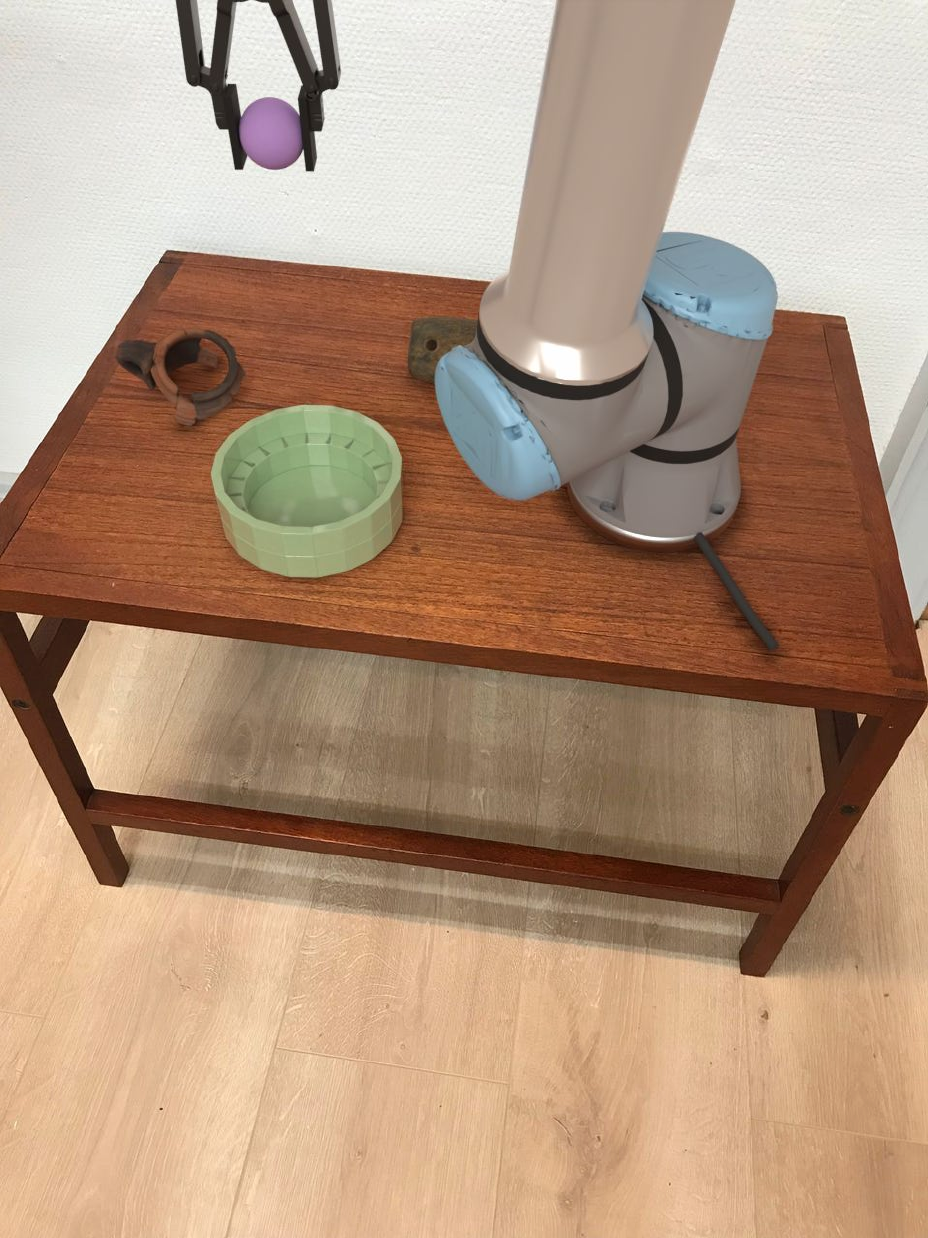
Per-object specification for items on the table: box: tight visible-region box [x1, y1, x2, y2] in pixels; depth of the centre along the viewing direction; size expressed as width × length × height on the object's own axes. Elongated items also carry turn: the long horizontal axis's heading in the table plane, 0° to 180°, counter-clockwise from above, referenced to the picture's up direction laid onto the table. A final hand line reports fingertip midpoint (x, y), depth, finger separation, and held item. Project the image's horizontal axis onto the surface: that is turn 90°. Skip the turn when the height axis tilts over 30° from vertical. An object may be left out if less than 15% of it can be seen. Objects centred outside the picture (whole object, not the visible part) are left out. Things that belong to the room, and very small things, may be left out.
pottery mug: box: [114, 327, 247, 427], centre depth 93 cm, size 12×10×8 cm
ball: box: [239, 96, 304, 171], centre depth 90 cm, size 6×6×6 cm
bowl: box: [210, 404, 405, 579], centre depth 83 cm, size 16×16×6 cm
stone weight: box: [407, 315, 478, 385], centre depth 95 cm, size 15×7×7 cm, turn 87°
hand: (276, 163), depth 92 cm, fingers closed on ball, 6 cm apart
